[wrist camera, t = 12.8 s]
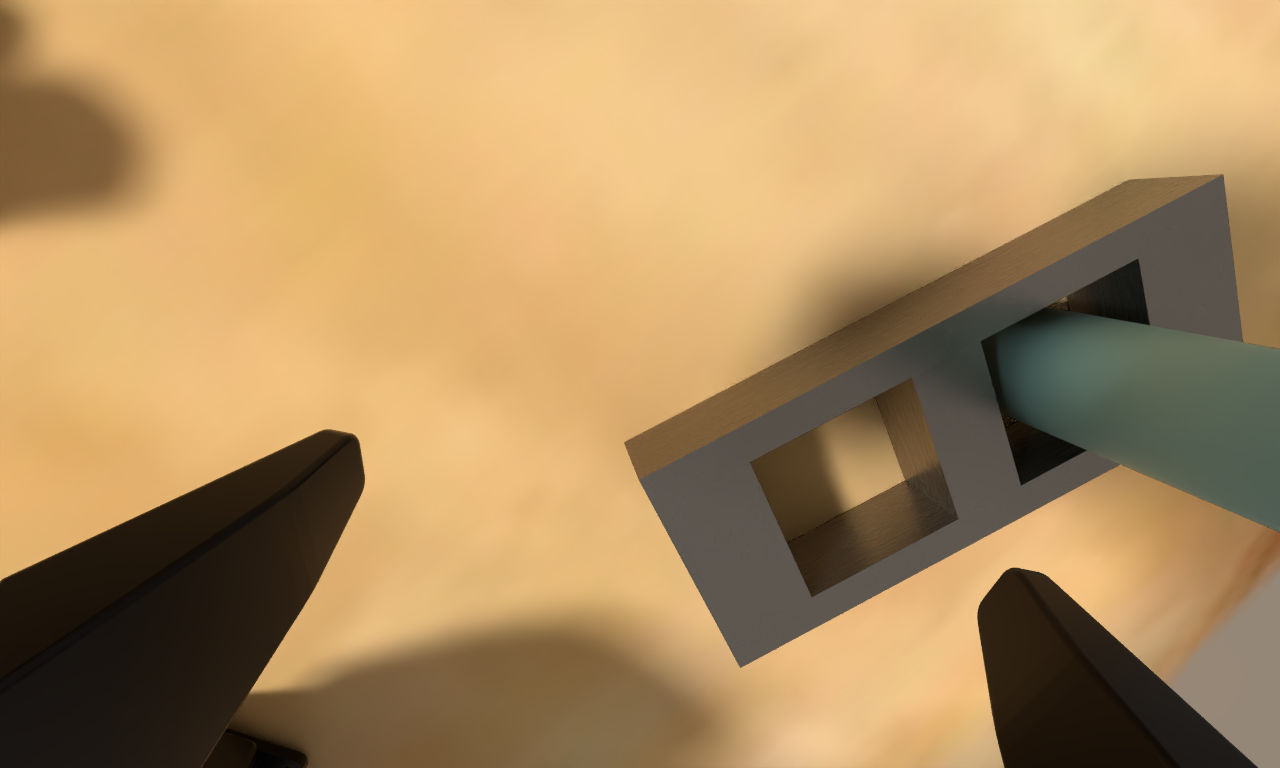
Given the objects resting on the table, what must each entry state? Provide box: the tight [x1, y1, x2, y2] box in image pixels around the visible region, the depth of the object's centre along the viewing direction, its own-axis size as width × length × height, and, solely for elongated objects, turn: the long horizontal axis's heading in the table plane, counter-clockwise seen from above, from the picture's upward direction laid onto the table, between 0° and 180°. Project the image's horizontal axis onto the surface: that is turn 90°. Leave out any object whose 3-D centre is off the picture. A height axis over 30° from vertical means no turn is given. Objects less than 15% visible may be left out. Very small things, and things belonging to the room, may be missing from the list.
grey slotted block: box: [624, 174, 1243, 668], centre depth 20 cm, size 20×8×3 cm, turn 116°
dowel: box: [981, 307, 1280, 532], centre depth 16 cm, size 4×4×13 cm
